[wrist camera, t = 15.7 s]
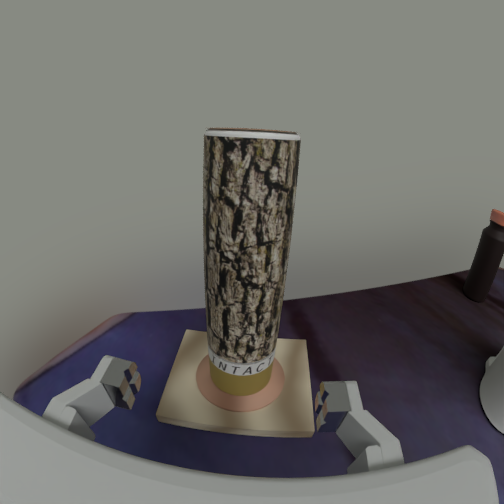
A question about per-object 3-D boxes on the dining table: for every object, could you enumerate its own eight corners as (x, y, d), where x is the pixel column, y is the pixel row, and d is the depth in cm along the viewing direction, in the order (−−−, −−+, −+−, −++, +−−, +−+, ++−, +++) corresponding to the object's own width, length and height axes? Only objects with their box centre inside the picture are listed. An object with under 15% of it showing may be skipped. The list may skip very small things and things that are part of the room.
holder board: (303, 347, 36) (306, 338, 35) (311, 437, 24) (315, 429, 23) (187, 337, 37) (186, 327, 36) (158, 421, 24) (155, 413, 23)
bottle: (458, 285, 52) (484, 204, 43) (478, 289, 50) (504, 212, 42) (467, 301, 46) (498, 214, 37) (488, 304, 44) (518, 221, 36)
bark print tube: (210, 354, 32) (207, 127, 21) (266, 353, 33) (289, 131, 22) (209, 399, 26) (199, 128, 15) (274, 397, 27) (313, 135, 16)
